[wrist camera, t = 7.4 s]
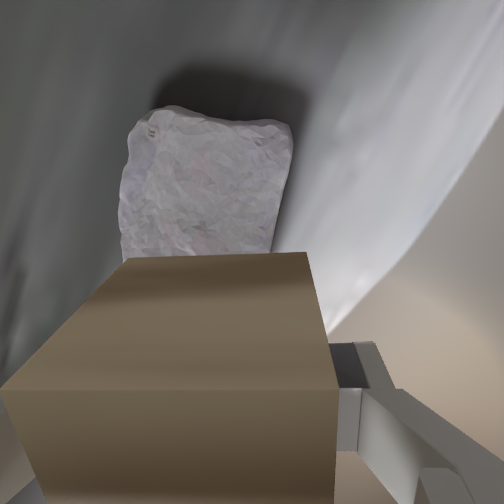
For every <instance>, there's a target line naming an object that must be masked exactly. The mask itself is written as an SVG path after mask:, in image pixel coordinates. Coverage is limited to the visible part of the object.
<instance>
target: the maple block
mask: <svg viewBox="0 0 504 504" xmlns="http://www.w3.org/2000/svg"><path fill="white" fill-rule="evenodd" d="M0 395H1V398H2V400H3V402H4V405H5V407H6V409H7V411H8V414H9V416H10V418H11V421H12V423H13V425H14V427H15V430H16V432H17V434H18V437H19V439H20V441H21V444H22V446H23V448H24V450H25V453H26V455H27V457H28V460H29V462H30V464H31V466H32V469H33V471H34V473H35V476H36V478H37V480H38V482H39V485H40V487H41V489H42V492H43V494H44V496H45V498H46V500H47V503H48V504H334V485H335V466H336V447H337V428H338V408H339V386H338V381H337V377H336V373H335V369H334V365H333V361H332V357H331V352H330V348H329V344H328V340H327V336H326V332H325V328H324V323H323V319H322V315H321V311H320V307H319V303H318V299H317V294H316V290H315V286H314V282H313V278H312V274H311V270H310V265H309V261H308V257H307V253H306V252H291V253H259V254H228V255H196V256H164V257H133V258H128V259H127V260H126V261H125V262H124V263H123V264H122V265H121V266H120V267H119V268H118V269H117V270H116V271H115V272H114V273H113V274H112V275H111V276H110V277H109V278H108V279H107V280H106V281H105V282H104V283H103V284H102V285H101V286H100V287H99V288H98V289H97V290H96V291H95V293H94V294H93V295H92V296H91V297H90V298H89V299H88V300H87V301H86V302H85V303H84V304H83V305H82V306H81V307H80V308H79V309H78V310H77V311H76V312H75V313H74V314H73V315H72V316H71V317H70V318H69V319H68V320H67V321H66V322H65V323H64V324H63V325H62V326H61V327H60V328H59V329H58V330H57V331H56V332H55V333H54V334H53V335H52V336H51V337H50V338H49V339H48V340H47V341H46V342H45V343H44V344H43V345H42V346H41V347H40V348H39V349H38V350H37V351H36V353H35V354H34V355H33V356H32V357H31V358H30V359H29V360H28V361H27V362H26V363H25V364H24V365H23V366H22V367H21V368H20V369H19V370H18V371H17V372H16V373H15V374H14V375H13V376H12V377H11V378H10V379H9V380H8V381H7V382H6V383H5V384H4V385H3V386H2V387H1V388H0Z"/></svg>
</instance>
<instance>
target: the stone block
mask: <svg viewBox="0 0 504 504" xmlns="http://www.w3.org/2000/svg"><path fill="white" fill-rule="evenodd" d="M127 142H128V148H129V158H128V162H127V164H126V166H125V167H124V169H123V173H122V180H121V183H120V195H119V196H120V202H119V209H118V216H119V227H120V231H121V233H122V236H121V240H120V242H121V246H122V255H123V263H124V262H125V261H126V260H127V259H128V258H133V257H164V256H196V255H228V254H259V253H270V250H271V245H272V240H273V235H274V230H275V225H276V220H277V216H278V212H279V207H280V203H281V199H282V195H283V190H284V186H285V183H286V180H287V177H288V173H289V168H290V164H291V160H292V153H293V136H292V132H291V130H290V128H289V125H288V124H286V123H283V122H280V121H277V120H275V119H260V120H251V121H240V120H239V121H229V120H224V119H219V118H212V117H207V116H206V115H204V114H202V113H197V112H194V111H191V110H188V109H186V108H183V107H180V106H175V105H168V106H166V107H164V108H158V109H154V110H151V111H149V112H148V113H147V114H146V115H145V116H144V117H143V118H141V119H140V120H139V121H138V122H137V124H136V126H135V127H134V128H133V129H132V130H131V132H130V133H129V136H128V140H127Z"/></svg>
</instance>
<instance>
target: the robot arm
mask: <svg viewBox="0 0 504 504" xmlns="http://www.w3.org/2000/svg"><path fill="white" fill-rule="evenodd" d="M328 344H329V348H330V352H331V357H332V361H333V365H334V369H335V373H336V377H337V381H338V386H339V408H338V428H337V447H336V451H355V452H358V455H359V456H360V457H361V458H362V460H363V461H364V462H365V463H366V464H367V466H368V467H369V468H370V469H371V470H372V472H373V473H374V474H375V475H376V477H377V478H378V479H379V480H380V481H381V483H382V484H383V485H384V486H385V488H386V489H387V490H388V491H389V492H390V494H391V495H392V496H393V497H394V499H395V500H396V501H397V502H398V504H504V462H503V461H502V460H501V459H499V458H498V457H497V456H495V455H494V454H492V453H491V452H490V451H488V450H487V449H486V448H484V447H483V446H481V445H480V444H478V443H477V442H476V441H474V440H473V439H472V438H470V437H469V436H467V435H466V434H465V433H463V432H462V431H460V430H459V429H458V428H456V427H455V426H453V425H452V424H451V423H449V422H448V421H446V420H445V419H444V418H442V417H440V416H439V415H438V414H437V413H435V412H434V411H432V410H431V409H430V408H428V407H427V406H425V405H424V404H423V403H421V402H420V401H418V400H417V399H415V398H414V397H413V396H411V395H410V394H409V393H407V392H406V391H404V390H403V389H396V388H395V386H394V384H393V382H392V380H391V377H390V375H389V373H388V371H387V369H386V366H385V364H384V362H383V360H382V358H381V355H380V353H379V351H378V349H377V346H376V345H375V343H374V342H373V341H365V342H364V341H363V342H352V343H328ZM35 477H36V476H35V473H34V471H33V469H32V466H31V464H30V462H29V460H28V457H27V455H26V453H25V450H24V448H23V446H22V444H21V441H20V439H19V437H18V434H17V432H16V430H15V427H14V425H13V423H12V421H11V418H10V416H9V414H8V411H7V409H6V407H5V405H4V402H3V400H2V398H1V395H0V504H5V503H7V502H8V501H9V500H10V499H11V498H12V497H13V496H14V495H16V494H17V493H18V492H19V491H20V490H21V489H22V488H23V487H24V486H26V485H27V484H28V483H29V482H30V481H31V480H33V479H34V478H35Z"/></svg>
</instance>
